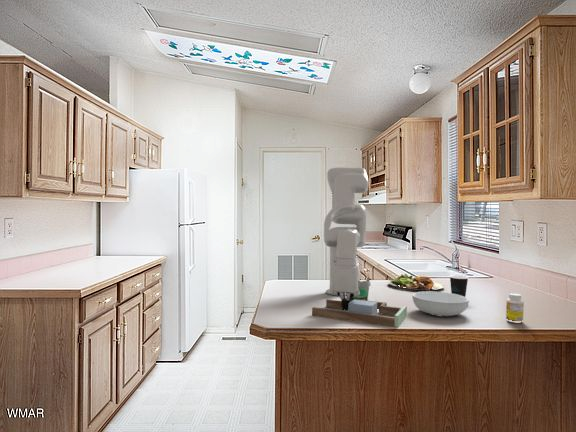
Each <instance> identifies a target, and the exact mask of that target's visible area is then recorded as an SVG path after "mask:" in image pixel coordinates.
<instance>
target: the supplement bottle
mask: <svg viewBox="0 0 576 432" xmlns="http://www.w3.org/2000/svg"><path fill="white" fill-rule="evenodd" d="M524 306H525V305H524V300H522V294H520V293H509V294H508V298H507V299H506V313H505V317H506V318H505V319H508V320H512V321H522V320H523V321H524V311H525V309H524Z"/></svg>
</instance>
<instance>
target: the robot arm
mask: <svg viewBox="0 0 576 432" xmlns="http://www.w3.org/2000/svg"><path fill="white" fill-rule="evenodd" d="M326 175H327V176H326V178H327V179H326V180H327V183H328V185H329V188H330V191H331V196H332V198H331V201H332V202H331V209H330V210H329V212H327V215H326V216H325V219H324V223H323V242H324V244H325V245H326V246H327V247H329V288H328V289H326V291H325V293H326V294H327V295H330V296H337V297H339V299H340V301H341V307H342V309H341V311H348V307H349V303H350V299H351V298H352V297H353V296H359V295H360V292H359V290H360V281H361V278H360V271H359V267H358V266H357V249H358V248H363V247H364V246H365V245H366V241H367V210H366V207H365V206H364V205H362V204H358V203H357V204H356V201H355V195H356V194H366V193H367V192H368V190H369V185H370V184H369V177H368V174H367V171H366V169H365V168H363V167H331V168H329V169H328V170H327V174H326ZM332 222H333V223H335V224H336V225H353V226H334V227H331V225H332ZM355 226H356V227H355ZM346 293H347V296H346Z"/></svg>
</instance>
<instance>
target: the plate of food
mask: <svg viewBox="0 0 576 432" xmlns="http://www.w3.org/2000/svg"><path fill="white" fill-rule="evenodd" d="M388 283H389V285H391V286H394V287H398V285H400V287H401V288H400V287H399V288H400V289H404V288H403V287H406V289H409V290H411V289H412V290H415V291H416V290H418V291H431V290H430V289H432V287H433V286H436V287H437V289H436V288H434V287H433V290H434V291H435V290H440V289H444V287H445V284H443V283H442V282H439V281H435V280H432V279H431V277H429V276H425V275H421V276H415V277H413V275H410V276H408V274H407V273H405V274H401V275H399V276H397V278H394V279H389V280H388ZM419 289H420V290H419ZM433 290H432V291H433Z"/></svg>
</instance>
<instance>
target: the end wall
mask: <svg viewBox="0 0 576 432" xmlns="http://www.w3.org/2000/svg"><path fill="white" fill-rule="evenodd" d="M400 308H401V309H400V310H399V311H398V312H397V314H396V315H395V316H394V317H395V328H399V327H400V326H401V324H402V323H403V322H404V320H405V319H406V318H407V317H408V316H407V313H408V306H407V305H403V306H402V307H400ZM406 316H407V317H406ZM405 317H406V318H405ZM404 318H405V319H404ZM402 321H403V322H402ZM401 322H402V323H401Z"/></svg>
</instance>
